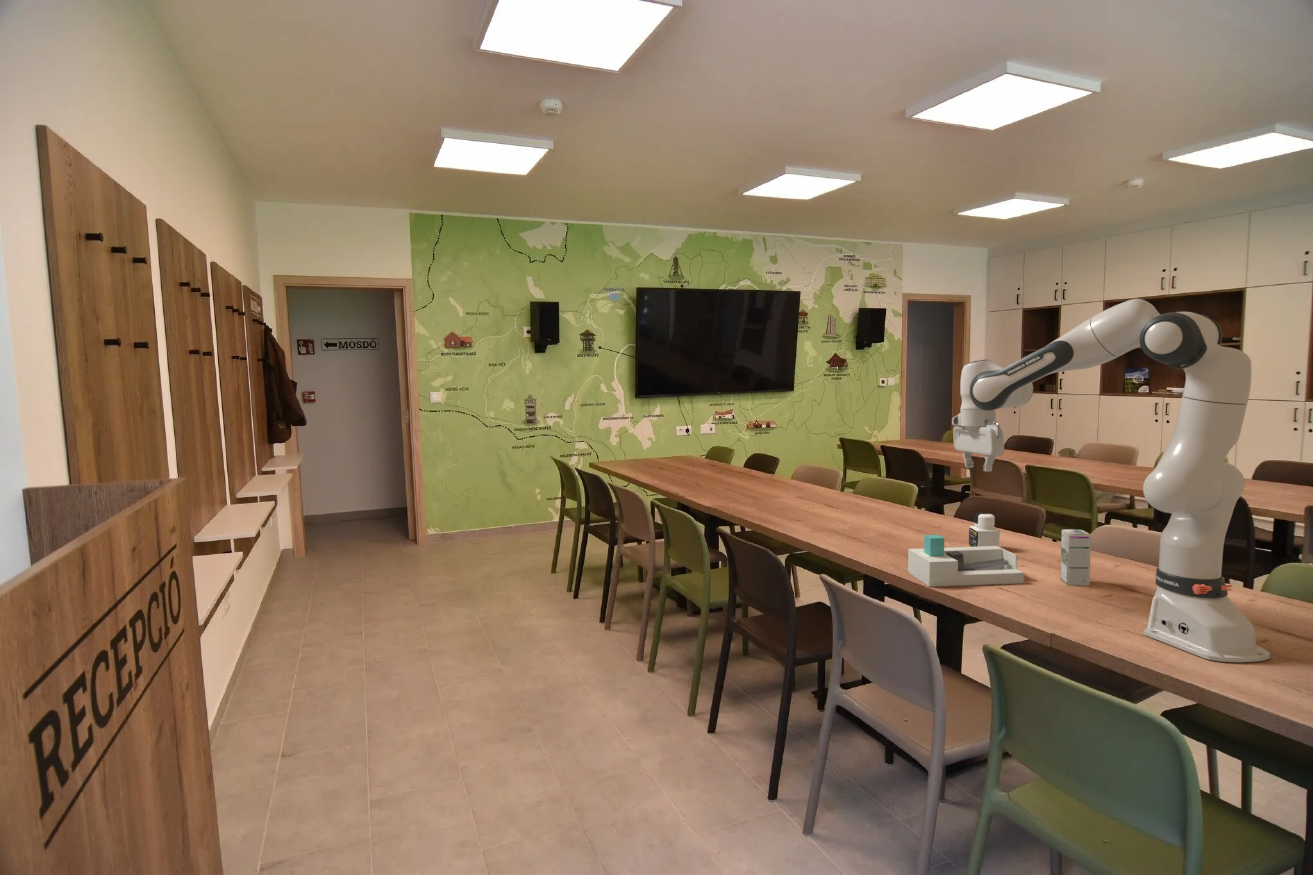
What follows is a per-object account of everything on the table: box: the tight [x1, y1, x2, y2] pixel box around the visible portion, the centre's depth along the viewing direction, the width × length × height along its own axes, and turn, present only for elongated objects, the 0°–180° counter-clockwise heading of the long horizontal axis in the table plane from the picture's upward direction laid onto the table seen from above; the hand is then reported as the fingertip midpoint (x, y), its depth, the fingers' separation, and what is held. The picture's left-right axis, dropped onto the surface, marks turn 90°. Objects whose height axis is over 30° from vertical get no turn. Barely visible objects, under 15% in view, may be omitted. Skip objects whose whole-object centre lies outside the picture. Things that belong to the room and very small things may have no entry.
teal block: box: [923, 534, 945, 556], centre depth 198 cm, size 4×4×5 cm
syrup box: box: [1060, 528, 1092, 587], centre depth 193 cm, size 6×6×14 cm
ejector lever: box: [947, 551, 1009, 571], centre depth 200 cm, size 3×16×5 cm, turn 93°
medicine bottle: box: [968, 512, 1001, 547], centre depth 229 cm, size 7×7×12 cm
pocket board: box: [907, 546, 1025, 587], centre depth 200 cm, size 14×27×7 cm, turn 93°
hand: (978, 469), depth 192 cm, fingers open, 8 cm apart
